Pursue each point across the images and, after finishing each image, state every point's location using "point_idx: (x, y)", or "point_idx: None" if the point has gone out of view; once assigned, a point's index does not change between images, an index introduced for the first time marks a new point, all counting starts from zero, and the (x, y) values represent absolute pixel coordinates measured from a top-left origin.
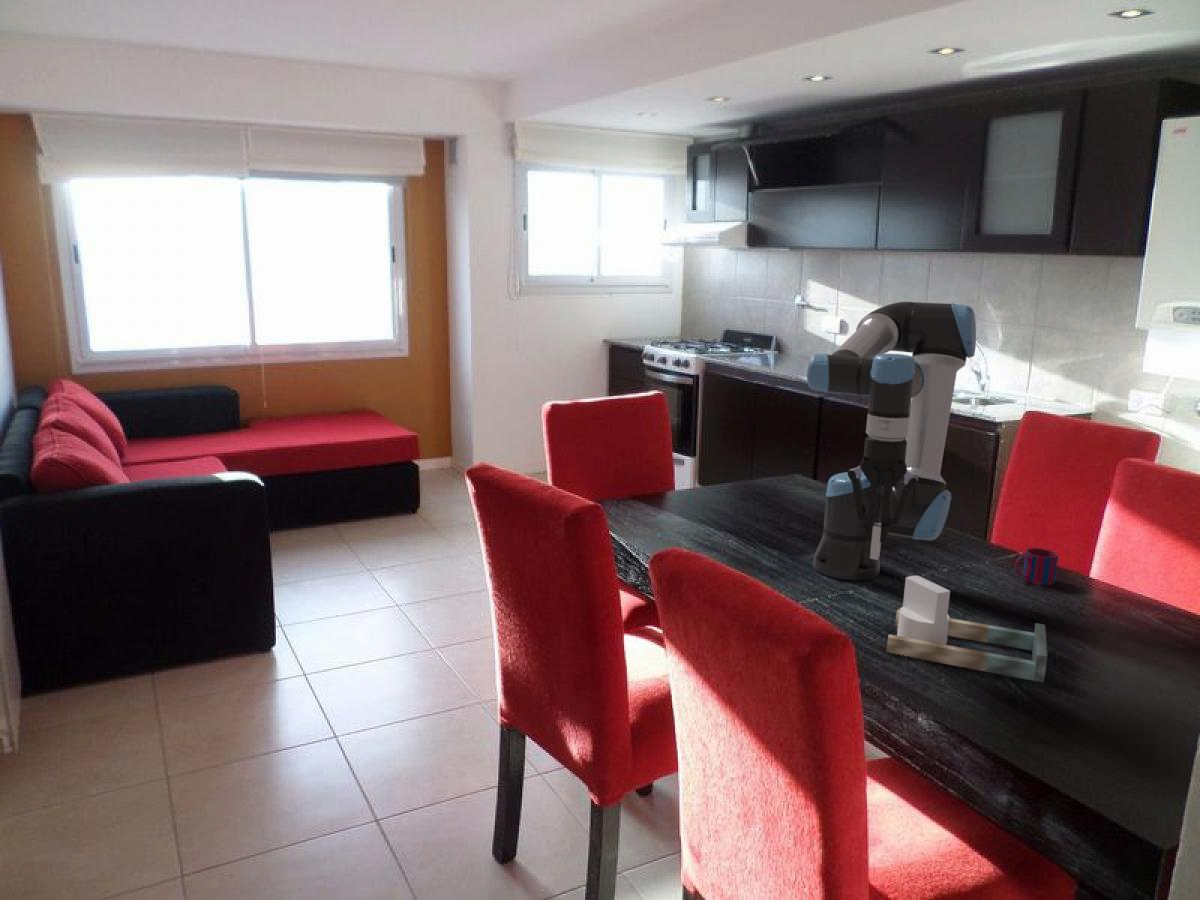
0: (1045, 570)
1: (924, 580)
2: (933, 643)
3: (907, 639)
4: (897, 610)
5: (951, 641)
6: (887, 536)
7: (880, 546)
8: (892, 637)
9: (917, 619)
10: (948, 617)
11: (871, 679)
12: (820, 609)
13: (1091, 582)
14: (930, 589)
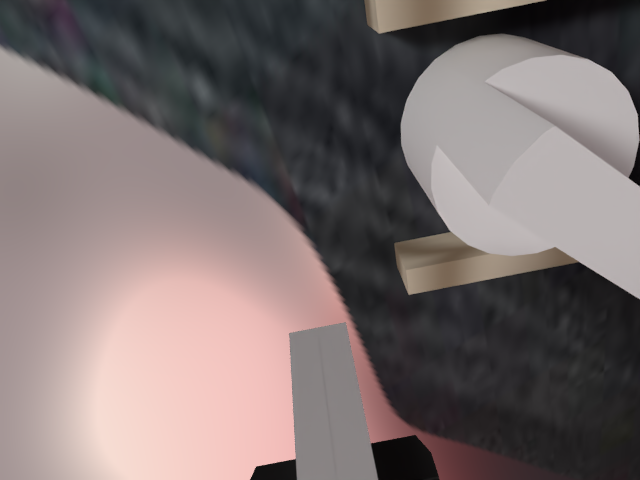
0: None
1: (596, 185)
2: (553, 249)
3: (469, 270)
4: (378, 11)
5: (588, 37)
6: (437, 477)
7: (357, 380)
8: (421, 285)
9: (513, 240)
10: (635, 139)
11: (401, 417)
12: (38, 50)
13: None
14: (627, 290)
